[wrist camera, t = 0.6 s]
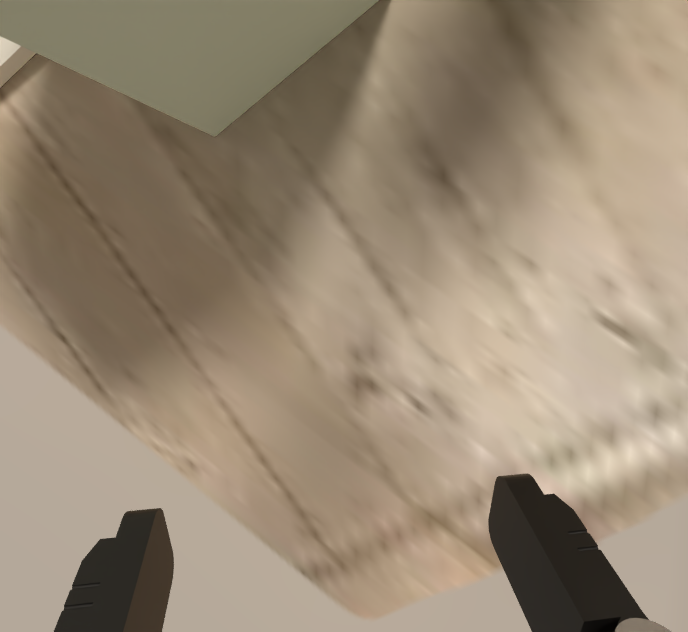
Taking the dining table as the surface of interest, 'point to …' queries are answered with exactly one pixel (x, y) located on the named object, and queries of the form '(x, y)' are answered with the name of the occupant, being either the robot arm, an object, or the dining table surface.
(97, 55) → the tote
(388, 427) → the dining table surface
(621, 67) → the dining table surface
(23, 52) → the shelf stand
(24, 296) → the dining table surface
